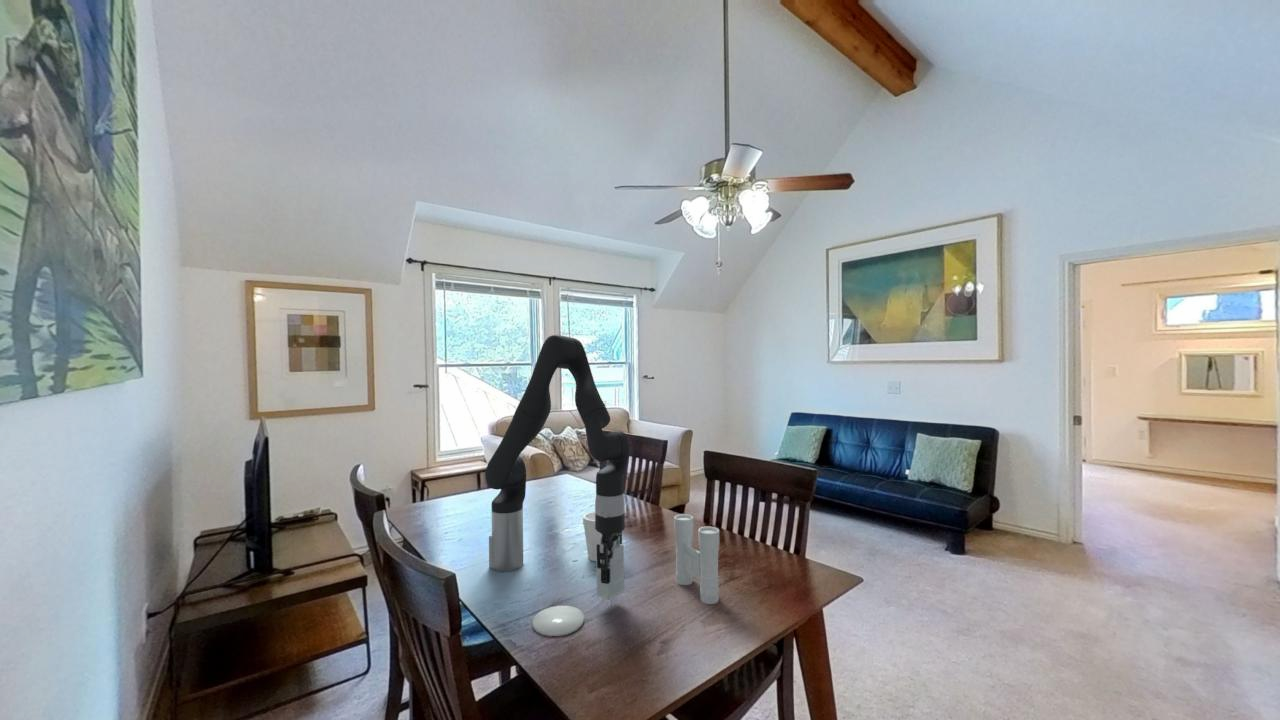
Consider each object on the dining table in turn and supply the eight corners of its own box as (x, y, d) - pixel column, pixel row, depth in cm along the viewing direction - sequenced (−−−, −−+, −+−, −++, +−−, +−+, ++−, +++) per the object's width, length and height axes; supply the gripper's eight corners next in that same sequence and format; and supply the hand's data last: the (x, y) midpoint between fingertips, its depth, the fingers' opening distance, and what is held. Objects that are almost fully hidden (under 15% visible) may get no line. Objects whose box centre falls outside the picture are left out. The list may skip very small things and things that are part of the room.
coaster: (523, 632, 108) (523, 629, 108) (546, 606, 120) (546, 603, 120) (572, 639, 105) (572, 635, 105) (590, 611, 117) (590, 608, 117)
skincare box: (612, 586, 124) (612, 540, 124) (624, 591, 121) (624, 544, 121) (595, 595, 119) (595, 547, 119) (608, 600, 116) (608, 552, 116)
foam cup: (599, 565, 144) (598, 522, 144) (577, 558, 149) (576, 517, 149) (619, 555, 151) (618, 514, 151) (597, 548, 157) (597, 509, 157)
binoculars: (671, 579, 134) (670, 516, 134) (687, 575, 137) (686, 512, 137) (707, 606, 119) (706, 535, 119) (724, 601, 122) (723, 531, 122)
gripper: (604, 501, 128) (604, 562, 128) (586, 518, 114) (586, 587, 114) (631, 503, 126) (631, 565, 126) (615, 521, 112) (616, 591, 112)
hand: (610, 575), depth 120 cm, fingers closed on skincare box, 7 cm apart
